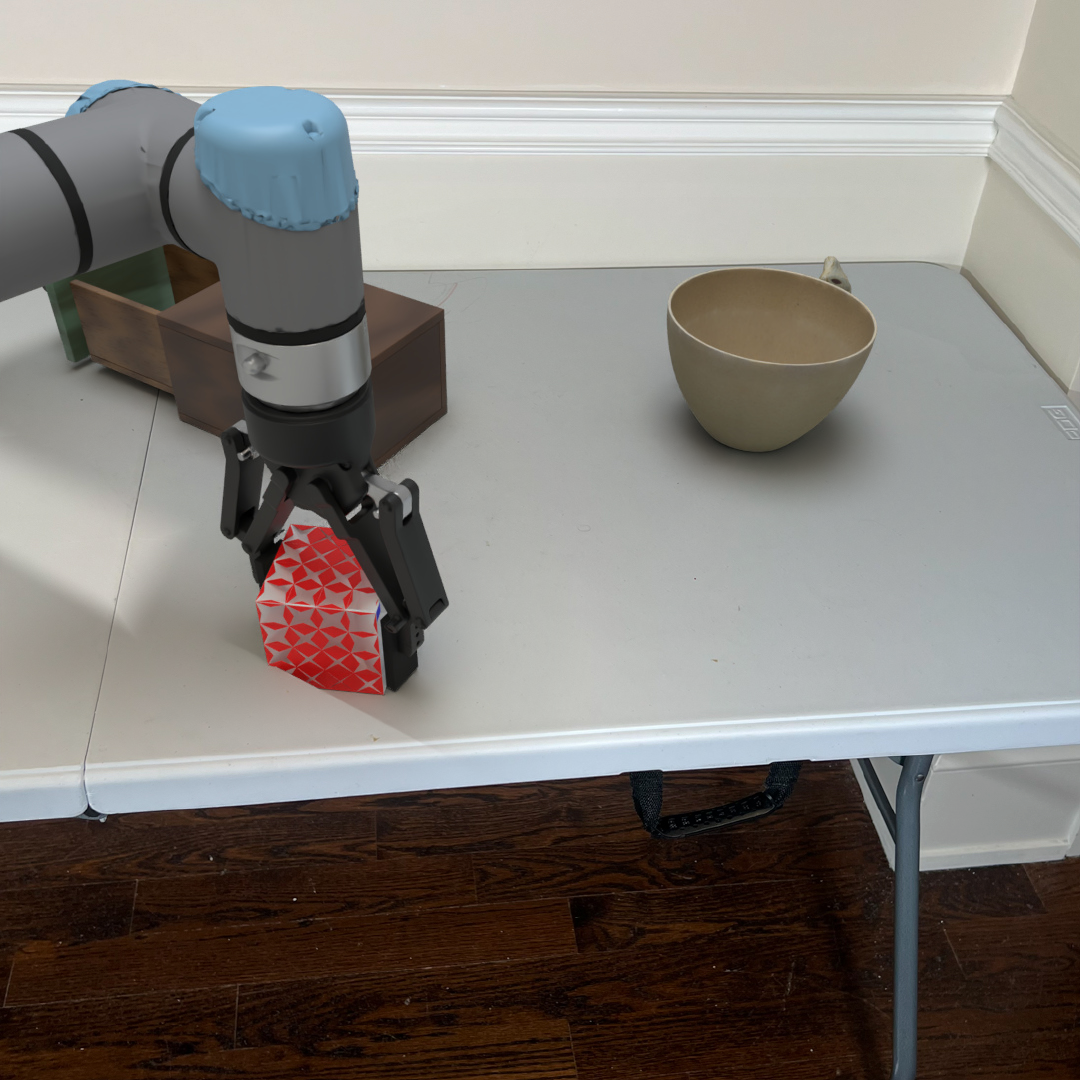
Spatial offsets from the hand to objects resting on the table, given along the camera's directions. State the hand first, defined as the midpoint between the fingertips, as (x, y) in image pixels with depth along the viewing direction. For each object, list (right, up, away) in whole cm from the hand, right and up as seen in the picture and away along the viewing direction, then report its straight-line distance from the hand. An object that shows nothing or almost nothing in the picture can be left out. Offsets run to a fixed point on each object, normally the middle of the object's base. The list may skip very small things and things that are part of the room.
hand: (341, 646), depth 74 cm
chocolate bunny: (+44, +29, +36) cm, 64 cm away
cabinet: (-7, +19, +23) cm, 30 cm away
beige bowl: (+34, +18, +24) cm, 45 cm away
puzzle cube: (0, 0, 0) cm, 0 cm away
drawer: (-23, +27, +29) cm, 45 cm away
